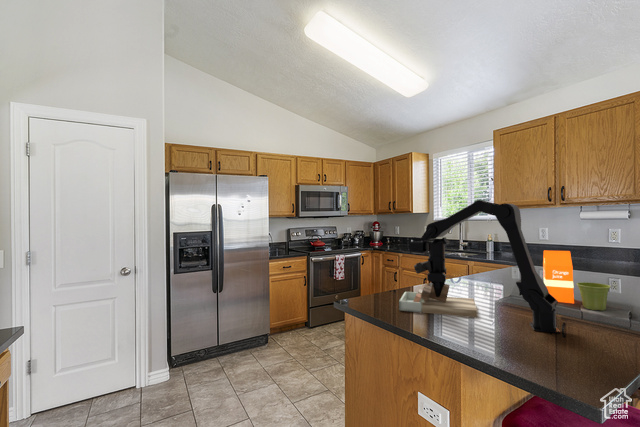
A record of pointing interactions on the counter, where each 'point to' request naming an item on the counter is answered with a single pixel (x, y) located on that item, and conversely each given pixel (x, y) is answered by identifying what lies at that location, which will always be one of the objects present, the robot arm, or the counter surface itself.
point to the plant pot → (594, 295)
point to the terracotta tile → (417, 298)
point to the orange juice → (559, 275)
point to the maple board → (451, 307)
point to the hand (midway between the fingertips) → (437, 295)
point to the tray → (410, 302)
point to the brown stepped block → (430, 293)
